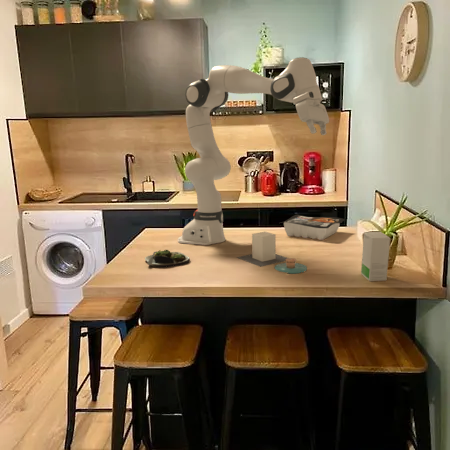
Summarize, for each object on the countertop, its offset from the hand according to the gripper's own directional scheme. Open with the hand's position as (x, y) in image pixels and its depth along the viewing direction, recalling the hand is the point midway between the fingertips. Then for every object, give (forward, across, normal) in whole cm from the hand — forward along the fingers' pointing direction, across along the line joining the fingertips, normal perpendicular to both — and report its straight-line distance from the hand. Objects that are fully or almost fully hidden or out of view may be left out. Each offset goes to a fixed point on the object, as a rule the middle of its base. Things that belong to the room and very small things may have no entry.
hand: (319, 133), depth 178 cm
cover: (+41, +6, -34) cm, 53 cm away
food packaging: (+37, -44, -34) cm, 66 cm away
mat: (+41, +6, -34) cm, 53 cm away
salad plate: (+33, +28, -65) cm, 78 cm away
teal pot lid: (+46, +12, -20) cm, 52 cm away
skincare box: (+56, +6, +8) cm, 57 cm away
